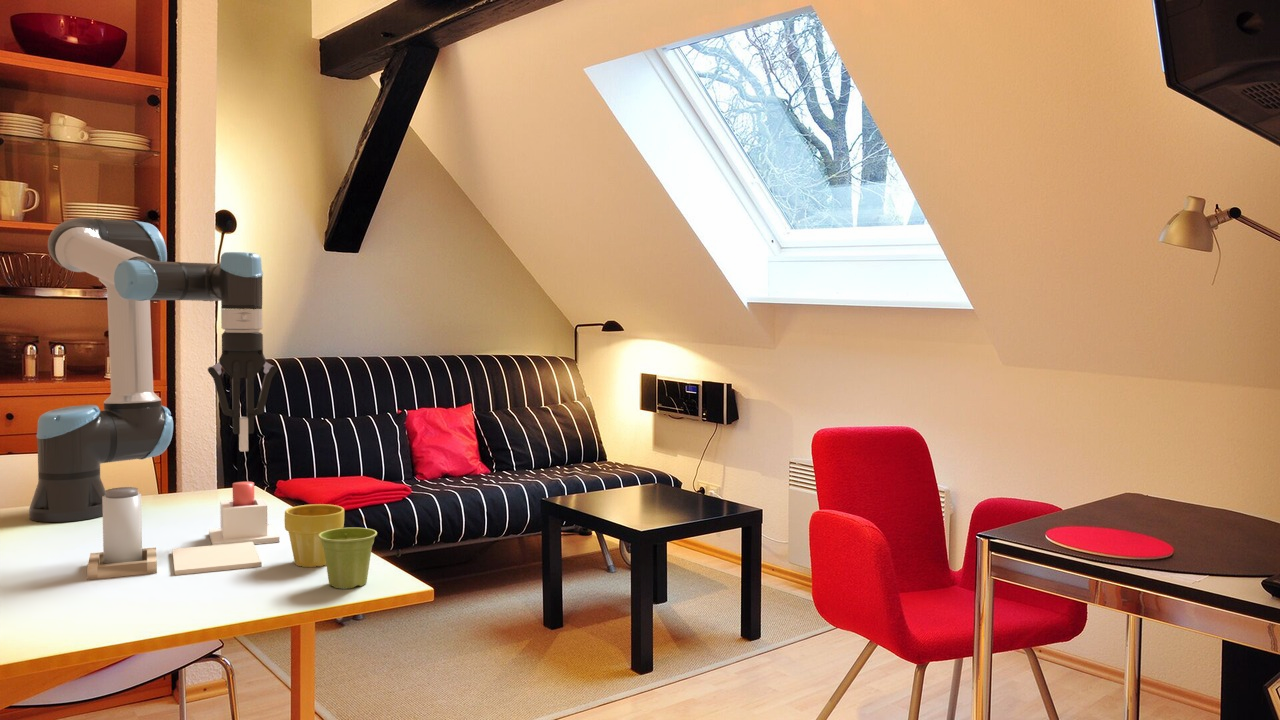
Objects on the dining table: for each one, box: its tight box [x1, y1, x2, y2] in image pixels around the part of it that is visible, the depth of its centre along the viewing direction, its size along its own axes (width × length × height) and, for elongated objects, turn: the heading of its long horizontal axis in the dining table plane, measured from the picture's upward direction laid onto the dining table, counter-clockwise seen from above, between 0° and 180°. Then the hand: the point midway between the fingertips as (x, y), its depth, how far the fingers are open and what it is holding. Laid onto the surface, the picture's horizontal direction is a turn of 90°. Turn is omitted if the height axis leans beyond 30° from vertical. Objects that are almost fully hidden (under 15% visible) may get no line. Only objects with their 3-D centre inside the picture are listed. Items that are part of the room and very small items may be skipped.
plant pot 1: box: [284, 503, 345, 568], centre depth 177 cm, size 10×10×10 cm
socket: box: [86, 547, 158, 581], centre depth 172 cm, size 10×10×2 cm
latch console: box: [208, 497, 280, 545], centre depth 194 cm, size 12×12×7 cm
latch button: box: [232, 481, 255, 507], centre depth 194 cm, size 4×4×5 cm
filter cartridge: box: [102, 486, 143, 564], centre depth 171 cm, size 6×6×14 cm
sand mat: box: [172, 542, 263, 576], centre depth 178 cm, size 16×14×1 cm
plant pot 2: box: [319, 527, 378, 589], centre depth 165 cm, size 9×9×9 cm
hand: (243, 450), depth 193 cm, fingers closed
